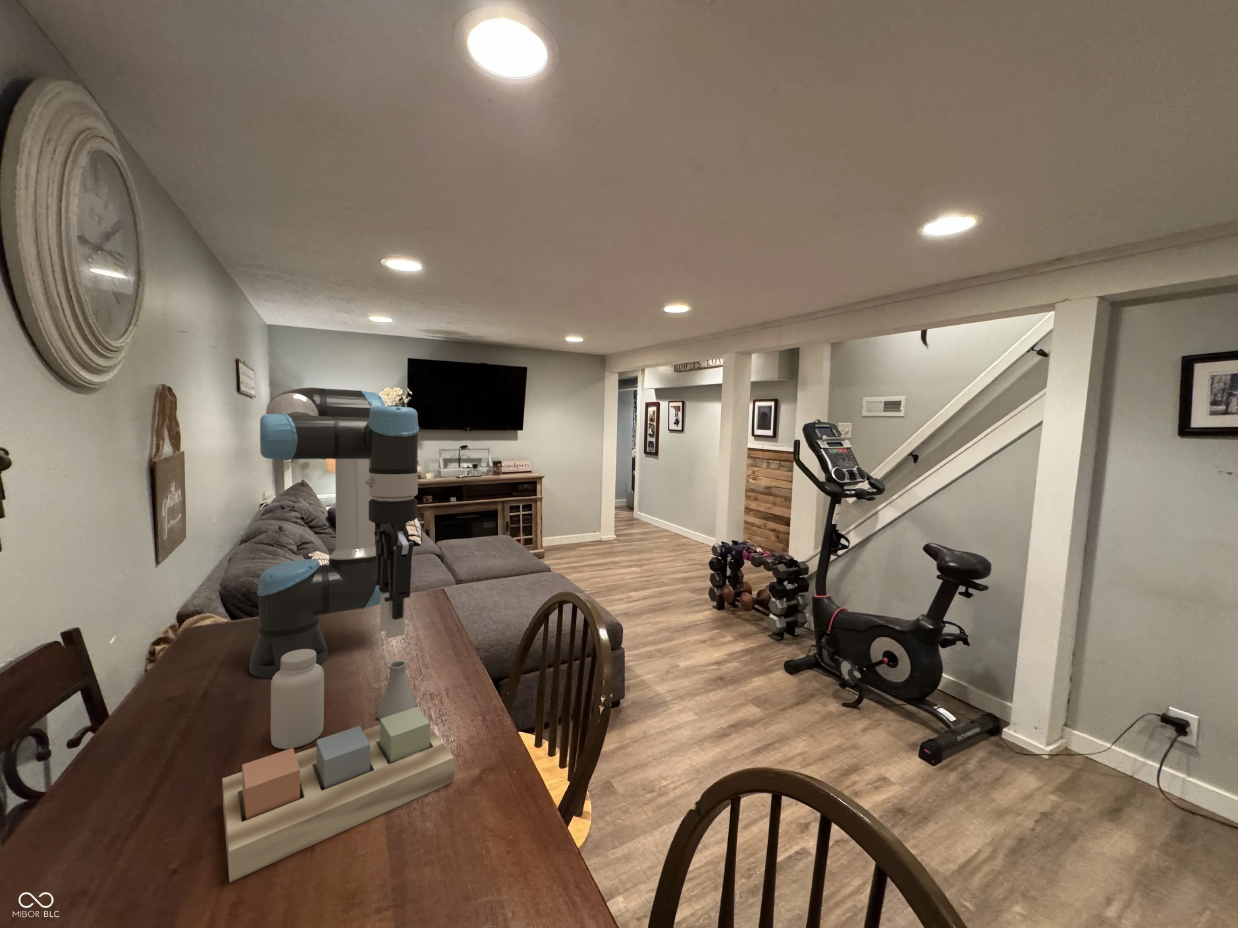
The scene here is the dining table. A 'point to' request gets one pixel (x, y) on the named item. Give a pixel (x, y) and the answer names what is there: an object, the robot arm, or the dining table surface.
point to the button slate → (343, 756)
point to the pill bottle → (297, 700)
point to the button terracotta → (270, 782)
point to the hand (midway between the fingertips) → (392, 632)
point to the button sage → (404, 734)
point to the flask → (396, 692)
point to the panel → (328, 803)
